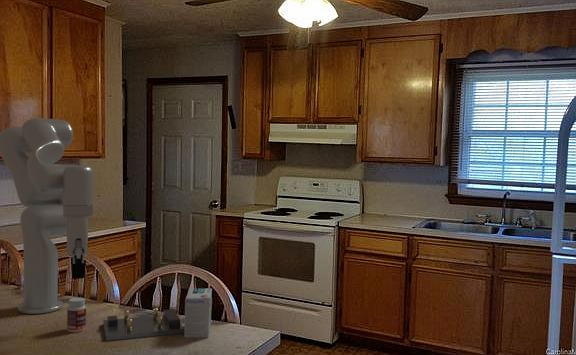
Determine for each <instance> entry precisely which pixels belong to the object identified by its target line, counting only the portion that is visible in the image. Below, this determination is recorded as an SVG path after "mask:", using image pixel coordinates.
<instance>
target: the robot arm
mask: <svg viewBox="0 0 576 355" xmlns="http://www.w3.org/2000/svg"><path fill="white" fill-rule="evenodd" d="M73 139H74V130H73V128H72V126H71V124H70V123H69V122H68V121H66V120H65V119H64V120H63V119H58V118H57V119H56V118H43V117H42V118H41V117H36V118H35V117H34V118H30V119H27V120H26V121H25V122H24V123H23V124H22V126H10V127H7V128H5V129H3V130H2V131H0V156H1V158H2V160H3V162H4V164H5V165H6V167H7V169H8V170H9V172H10V174H11V176H12V180H13V183H14V186H15V190H16V193H17V198H18V200H19V202H20V203H21V205H22V206H23V207H25V208H26V209H24V210H23V211H22V213H21V214H20V220H19V221H20V222H19V223H20V228H21V233H22V234H21V235H22V242H23V281H22V282H23V291H22V292H23V295H22V300H23V302H21V303H19V304H18V305H17V311H18V312H19V313H22V314H27V315H28V314H29V315H30V314H32V315H34V314H37V315H38V314H46V313H51V312H55V311H58V310H61V309H62V308H63V307H64V306H63V305H64V302H63V301H62V300H59V299H58V294H59V293H58V290H59V289H58V285H59V284H58V283H59V280H58V278H59V277H58V276H59V273H58V272H59V260H58V259H59V251H58V247H57V246H56V245H55V243H54V242H53V241H52V240H51V239H50V238H51V237H54V236H64V235H66V255H67V256H70V255H72V257H71V279H72V280H76V279H77V280H78V279H85V278H86V263H85V255H87V252H88V251H87V250H88V242H89V241H88V240H89V218H93V217H94V170H93V168H92V166H88V165H79V164H55V163H56V162H58V161H60V159H62V158H63V156H64V153H65V149H66V148H68V147H69V146H70V145H71V144H72V142H73ZM27 154H28V155H27Z"/></svg>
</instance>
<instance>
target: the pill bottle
mask: <svg viewBox="0 0 576 355" xmlns="http://www.w3.org/2000/svg"><path fill="white" fill-rule="evenodd" d="M85 301H86V299H85V298H84V297H72V298H70V299H68V307H67V308H66V309H67V310H66V311H67V312H66V322H67V323H66V330H67V331H68V332H70V333H80V332H83V331H86V327H87V324H86V323H87V321H86V320H87V306H86V305H85Z"/></svg>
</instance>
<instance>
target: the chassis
mask: <svg viewBox="0 0 576 355" xmlns="http://www.w3.org/2000/svg"><path fill="white" fill-rule="evenodd" d="M158 311H159V308H157V307H154V308H153V314H152V315H150V316H149V315H148V316H136V317H130V314H129V313H130V312H129V310H128V309H126V310H124V312H123V313H124V315H123V317H124V318H118V316H117V315H108V316H107V319H104V320H103V321H102V324H103V331H104V336H105V340H106V342H109V341H121V340H128V339H139V338H149V337H161V336H169V335H180V334H184V328H185V327H184V326H183V325H182V323H181V319H180V317H179V316H178V314H177V312H176V311H175V309H164V310H163V311H162V314H161V315H159V312H158Z"/></svg>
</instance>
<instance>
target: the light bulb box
mask: <svg viewBox="0 0 576 355" xmlns="http://www.w3.org/2000/svg"><path fill="white" fill-rule="evenodd" d="M212 291H213V289H212V288H201V287H200V288H194V287H193V288H190V287H189V288H188V290H187V294H186V297H184V298H185V299H184V327H183V328H184V333H183V335H184V336H183V337H184V338H186V339H187V338H191V339H192V338H204V339H205V338H209V336H210V330H211V325H212V323H211V322H212V295H213V294H212V293H213V292H212Z"/></svg>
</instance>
